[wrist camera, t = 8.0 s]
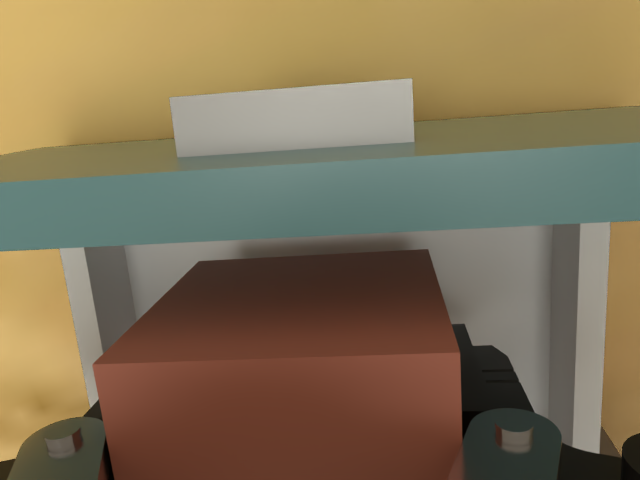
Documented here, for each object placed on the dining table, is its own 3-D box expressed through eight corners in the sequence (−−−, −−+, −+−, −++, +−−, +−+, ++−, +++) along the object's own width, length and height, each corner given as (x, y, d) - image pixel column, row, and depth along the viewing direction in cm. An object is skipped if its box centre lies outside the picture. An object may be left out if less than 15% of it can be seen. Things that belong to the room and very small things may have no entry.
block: (427, 248, 12) (460, 352, 8) (435, 455, 14) (467, 659, 9) (198, 261, 13) (91, 364, 8) (226, 458, 14) (147, 650, 9)
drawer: (645, 62, 14) (927, 36, 7) (614, 570, 17) (776, 908, 10) (35, 110, 16) (-258, 129, 8) (121, 560, 19) (-34, 841, 12)
